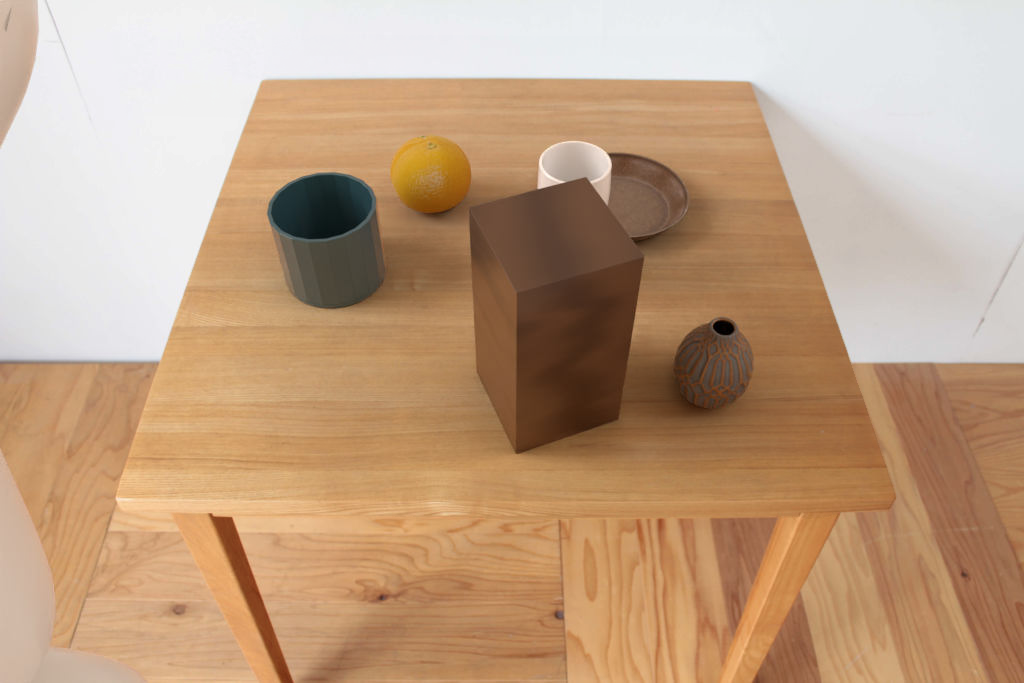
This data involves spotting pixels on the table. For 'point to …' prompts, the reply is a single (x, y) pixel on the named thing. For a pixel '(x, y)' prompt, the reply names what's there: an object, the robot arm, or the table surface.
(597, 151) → the tall white cup
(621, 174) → the saucer
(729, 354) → the vase
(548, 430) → the stand
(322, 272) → the tumbler
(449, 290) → the table surface
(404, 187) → the fruit
